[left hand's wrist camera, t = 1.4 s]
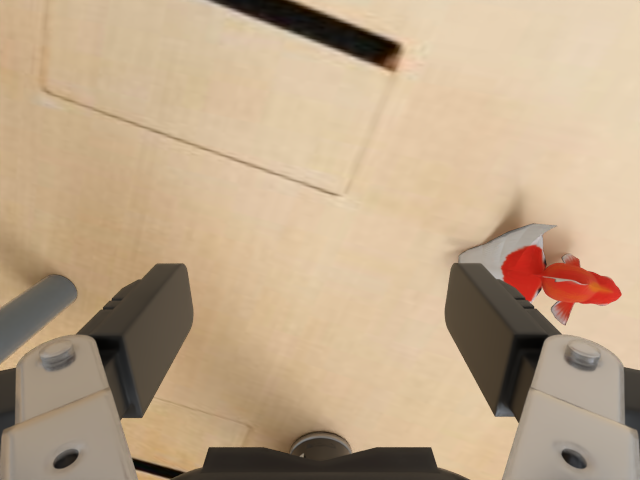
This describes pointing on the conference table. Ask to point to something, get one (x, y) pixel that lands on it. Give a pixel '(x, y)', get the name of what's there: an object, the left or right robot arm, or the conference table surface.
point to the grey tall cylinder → (33, 312)
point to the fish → (541, 271)
